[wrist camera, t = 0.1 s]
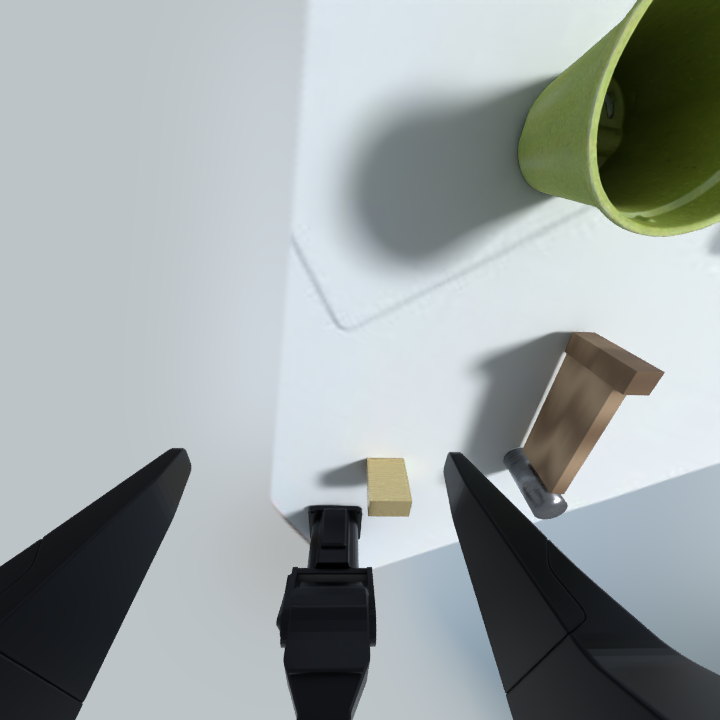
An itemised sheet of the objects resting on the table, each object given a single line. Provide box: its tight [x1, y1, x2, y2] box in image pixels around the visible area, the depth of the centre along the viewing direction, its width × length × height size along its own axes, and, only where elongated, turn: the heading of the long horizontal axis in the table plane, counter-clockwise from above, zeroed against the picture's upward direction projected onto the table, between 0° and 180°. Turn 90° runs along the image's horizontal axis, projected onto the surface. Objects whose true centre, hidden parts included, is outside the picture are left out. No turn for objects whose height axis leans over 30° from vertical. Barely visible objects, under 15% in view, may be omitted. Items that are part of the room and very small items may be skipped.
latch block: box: [366, 458, 412, 516], centre depth 30 cm, size 2×4×5 cm, turn 87°
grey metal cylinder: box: [504, 448, 567, 519], centre depth 29 cm, size 3×3×6 cm
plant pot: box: [518, 0, 720, 237], centre depth 14 cm, size 9×9×9 cm
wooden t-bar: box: [522, 332, 665, 494], centre depth 24 cm, size 14×2×6 cm, turn 177°
